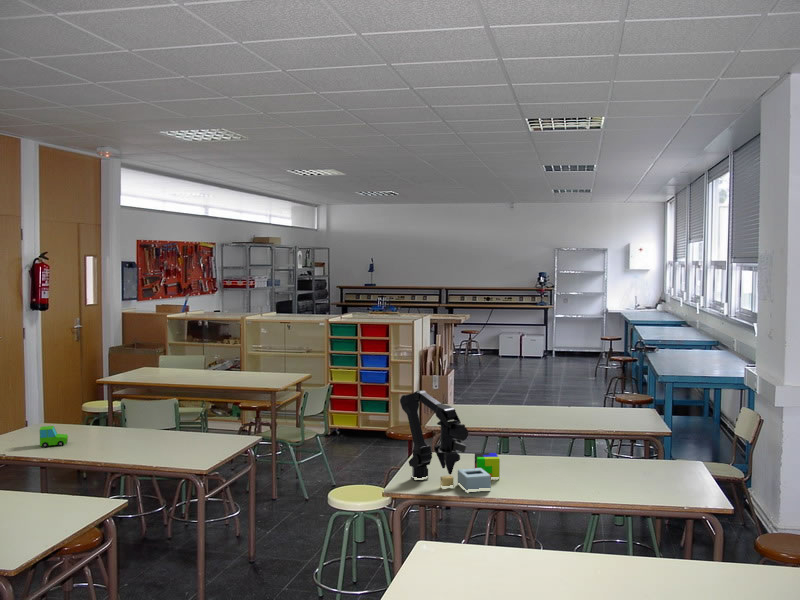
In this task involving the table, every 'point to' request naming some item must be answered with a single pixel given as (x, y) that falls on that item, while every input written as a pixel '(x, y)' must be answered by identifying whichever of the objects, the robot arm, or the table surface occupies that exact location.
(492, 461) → the puzzle toy
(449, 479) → the token
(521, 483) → the table surface
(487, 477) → the money box
